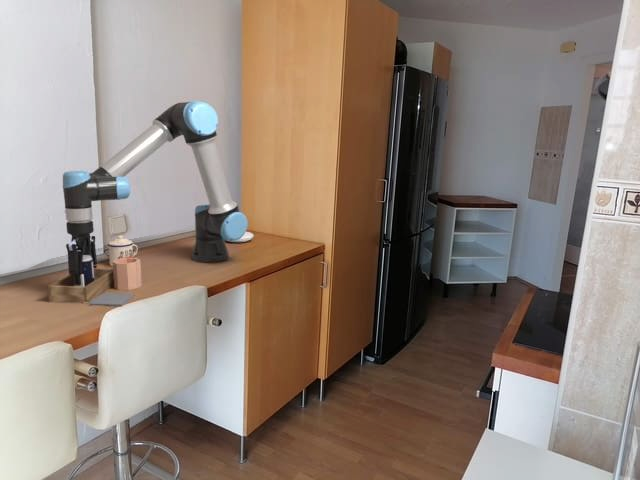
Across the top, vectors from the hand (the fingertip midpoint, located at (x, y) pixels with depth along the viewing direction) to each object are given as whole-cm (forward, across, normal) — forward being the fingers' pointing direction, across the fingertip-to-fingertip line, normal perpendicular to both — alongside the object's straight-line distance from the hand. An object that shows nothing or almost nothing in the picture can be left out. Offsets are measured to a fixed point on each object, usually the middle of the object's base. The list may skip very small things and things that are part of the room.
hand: (85, 290), depth 151 cm
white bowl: (+1, -83, +34) cm, 90 cm away
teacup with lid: (+1, -35, -2) cm, 35 cm away
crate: (0, 0, 0) cm, 0 cm away
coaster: (0, +7, +12) cm, 14 cm away
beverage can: (+1, 0, 0) cm, 1 cm away
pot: (0, -7, +11) cm, 13 cm away
